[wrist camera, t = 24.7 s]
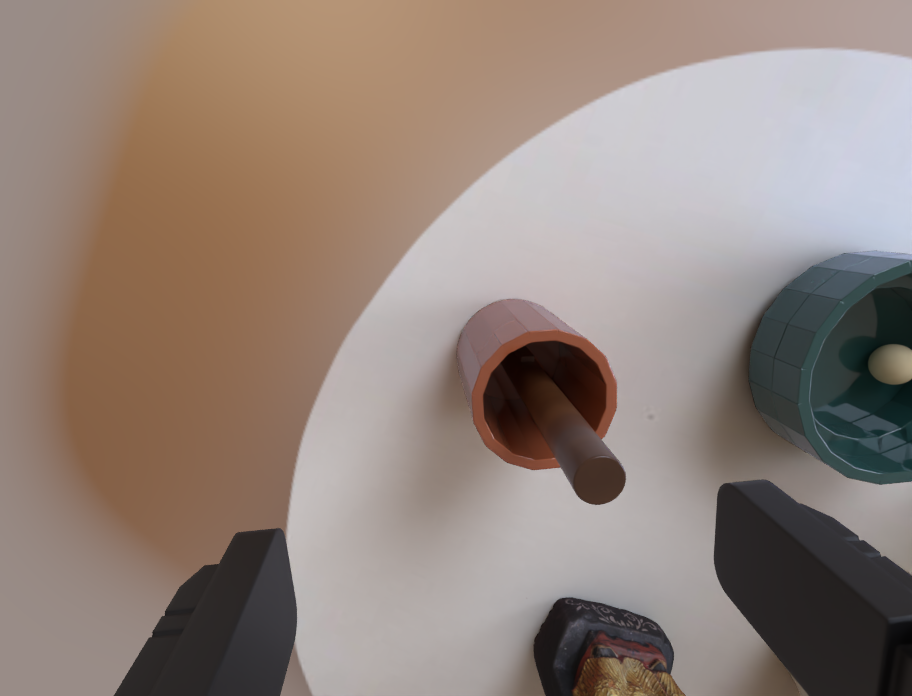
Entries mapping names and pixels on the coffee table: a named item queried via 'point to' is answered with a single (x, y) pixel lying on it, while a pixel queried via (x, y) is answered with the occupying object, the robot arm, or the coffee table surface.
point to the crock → (556, 352)
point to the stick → (566, 431)
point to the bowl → (839, 365)
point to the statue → (602, 652)
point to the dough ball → (891, 364)
